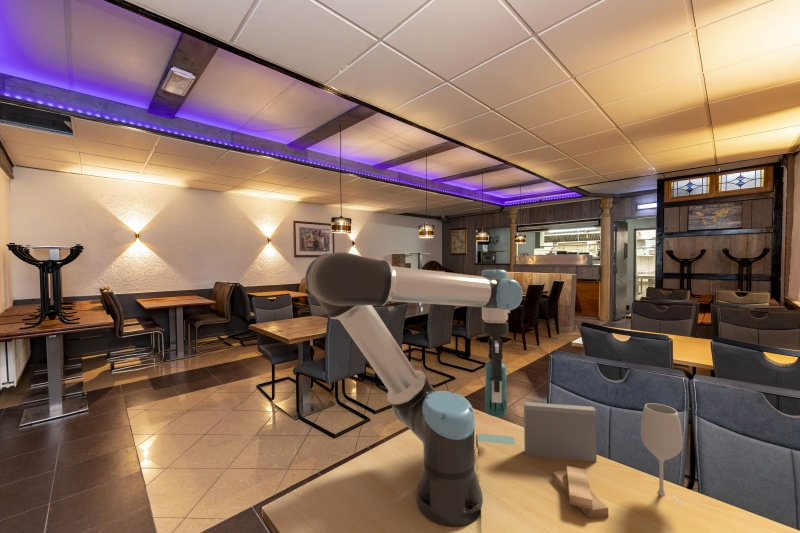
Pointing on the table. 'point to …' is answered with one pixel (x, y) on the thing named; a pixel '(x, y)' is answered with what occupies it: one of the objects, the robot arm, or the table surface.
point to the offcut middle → (597, 512)
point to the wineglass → (661, 435)
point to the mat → (495, 439)
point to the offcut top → (579, 487)
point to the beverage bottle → (490, 406)
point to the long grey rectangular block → (560, 431)
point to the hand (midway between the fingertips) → (495, 397)
